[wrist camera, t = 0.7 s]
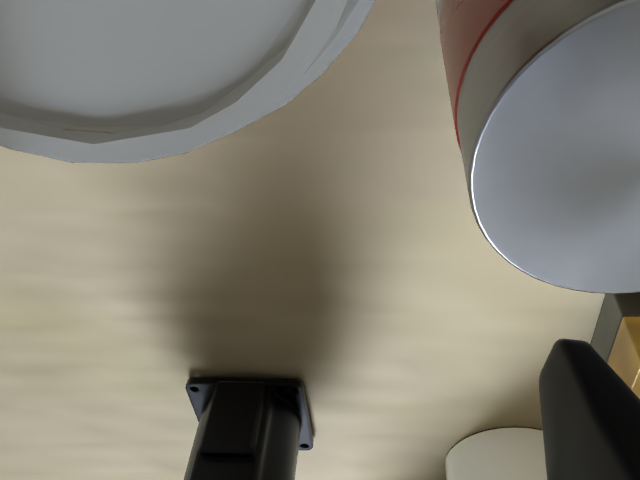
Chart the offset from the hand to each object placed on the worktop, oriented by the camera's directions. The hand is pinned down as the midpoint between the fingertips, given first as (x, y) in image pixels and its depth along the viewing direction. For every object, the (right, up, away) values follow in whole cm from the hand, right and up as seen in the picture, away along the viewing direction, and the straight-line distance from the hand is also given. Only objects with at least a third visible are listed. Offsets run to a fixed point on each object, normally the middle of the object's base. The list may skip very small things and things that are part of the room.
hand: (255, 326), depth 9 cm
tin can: (+8, +9, +9) cm, 15 cm away
